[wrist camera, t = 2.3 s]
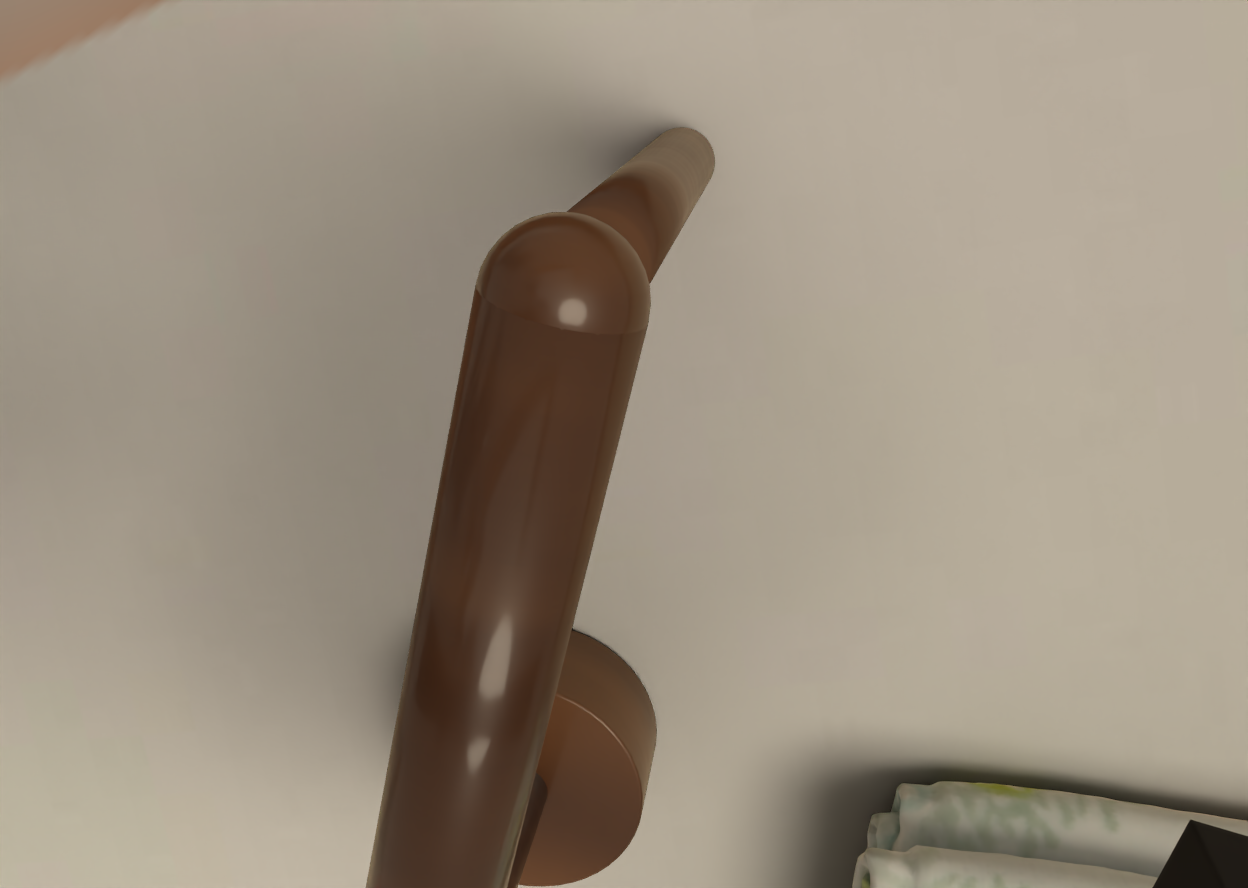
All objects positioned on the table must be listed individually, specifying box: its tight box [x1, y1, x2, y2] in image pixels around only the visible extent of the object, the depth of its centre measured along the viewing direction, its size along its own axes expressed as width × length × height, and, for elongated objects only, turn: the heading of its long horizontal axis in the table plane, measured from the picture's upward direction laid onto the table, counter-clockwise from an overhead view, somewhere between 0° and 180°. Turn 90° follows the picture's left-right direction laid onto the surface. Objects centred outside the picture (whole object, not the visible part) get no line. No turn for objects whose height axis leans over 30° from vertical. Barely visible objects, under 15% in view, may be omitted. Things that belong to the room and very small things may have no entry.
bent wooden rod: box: [366, 127, 715, 888], centre depth 17 cm, size 16×5×12 cm, turn 167°
